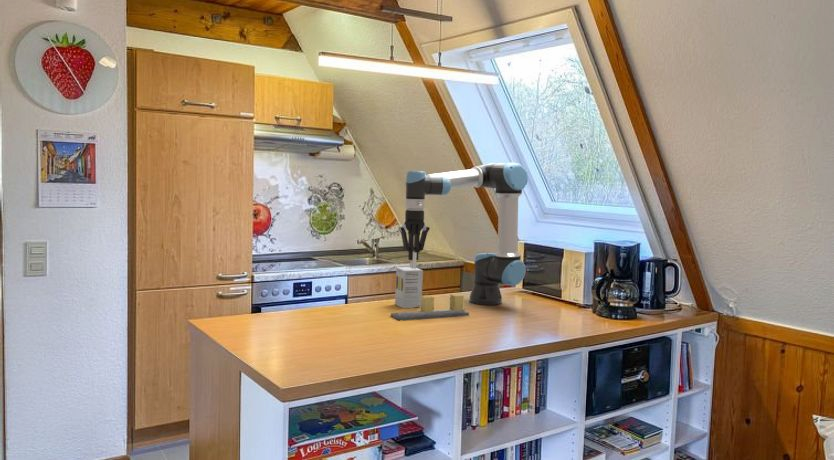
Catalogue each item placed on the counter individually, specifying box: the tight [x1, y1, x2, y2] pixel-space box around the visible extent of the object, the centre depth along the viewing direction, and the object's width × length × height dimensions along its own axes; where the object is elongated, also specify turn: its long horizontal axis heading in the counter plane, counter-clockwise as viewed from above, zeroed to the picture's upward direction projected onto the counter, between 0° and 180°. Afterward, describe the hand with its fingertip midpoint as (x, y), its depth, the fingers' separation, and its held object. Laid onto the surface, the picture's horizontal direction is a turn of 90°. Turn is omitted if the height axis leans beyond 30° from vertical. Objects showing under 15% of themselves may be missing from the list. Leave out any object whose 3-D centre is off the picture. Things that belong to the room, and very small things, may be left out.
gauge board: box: [390, 293, 470, 322], centre depth 262 cm, size 8×32×8 cm, turn 116°
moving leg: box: [420, 295, 435, 312], centre depth 260 cm, size 7×4×7 cm, turn 26°
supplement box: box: [394, 266, 424, 309], centre depth 279 cm, size 10×9×17 cm
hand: (413, 268), depth 254 cm, fingers closed
